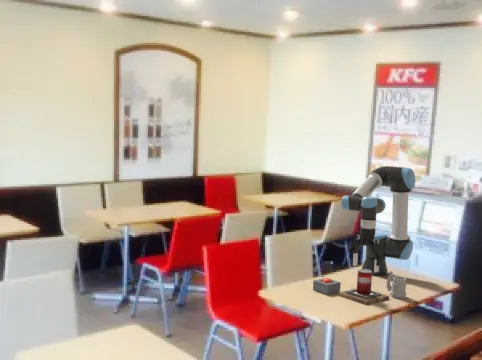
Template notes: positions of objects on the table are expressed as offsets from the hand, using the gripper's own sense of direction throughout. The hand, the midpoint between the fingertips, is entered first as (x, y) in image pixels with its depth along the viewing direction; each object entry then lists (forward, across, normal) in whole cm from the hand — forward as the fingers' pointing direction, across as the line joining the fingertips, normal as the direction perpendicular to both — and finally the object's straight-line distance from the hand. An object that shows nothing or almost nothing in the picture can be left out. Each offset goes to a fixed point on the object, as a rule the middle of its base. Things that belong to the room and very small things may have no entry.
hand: (365, 268), depth 298 cm
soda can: (+13, 0, -1) cm, 13 cm away
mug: (+15, +7, +16) cm, 23 cm away
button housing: (+15, -18, -9) cm, 25 cm away
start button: (+14, -18, -9) cm, 24 cm away
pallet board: (+15, 0, -1) cm, 15 cm away
